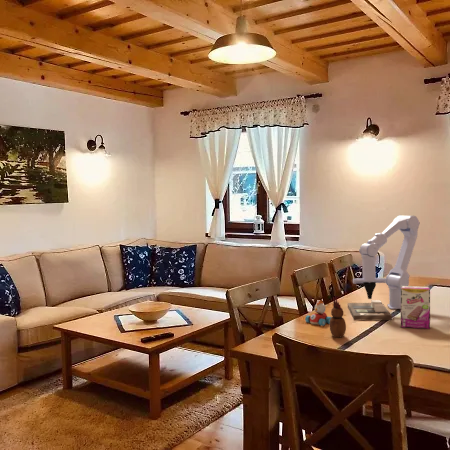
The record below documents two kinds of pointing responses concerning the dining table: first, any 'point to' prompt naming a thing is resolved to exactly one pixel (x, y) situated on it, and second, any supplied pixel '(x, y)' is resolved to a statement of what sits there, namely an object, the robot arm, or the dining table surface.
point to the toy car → (318, 315)
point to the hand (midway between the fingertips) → (369, 298)
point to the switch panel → (367, 312)
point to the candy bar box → (415, 307)
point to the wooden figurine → (337, 320)
